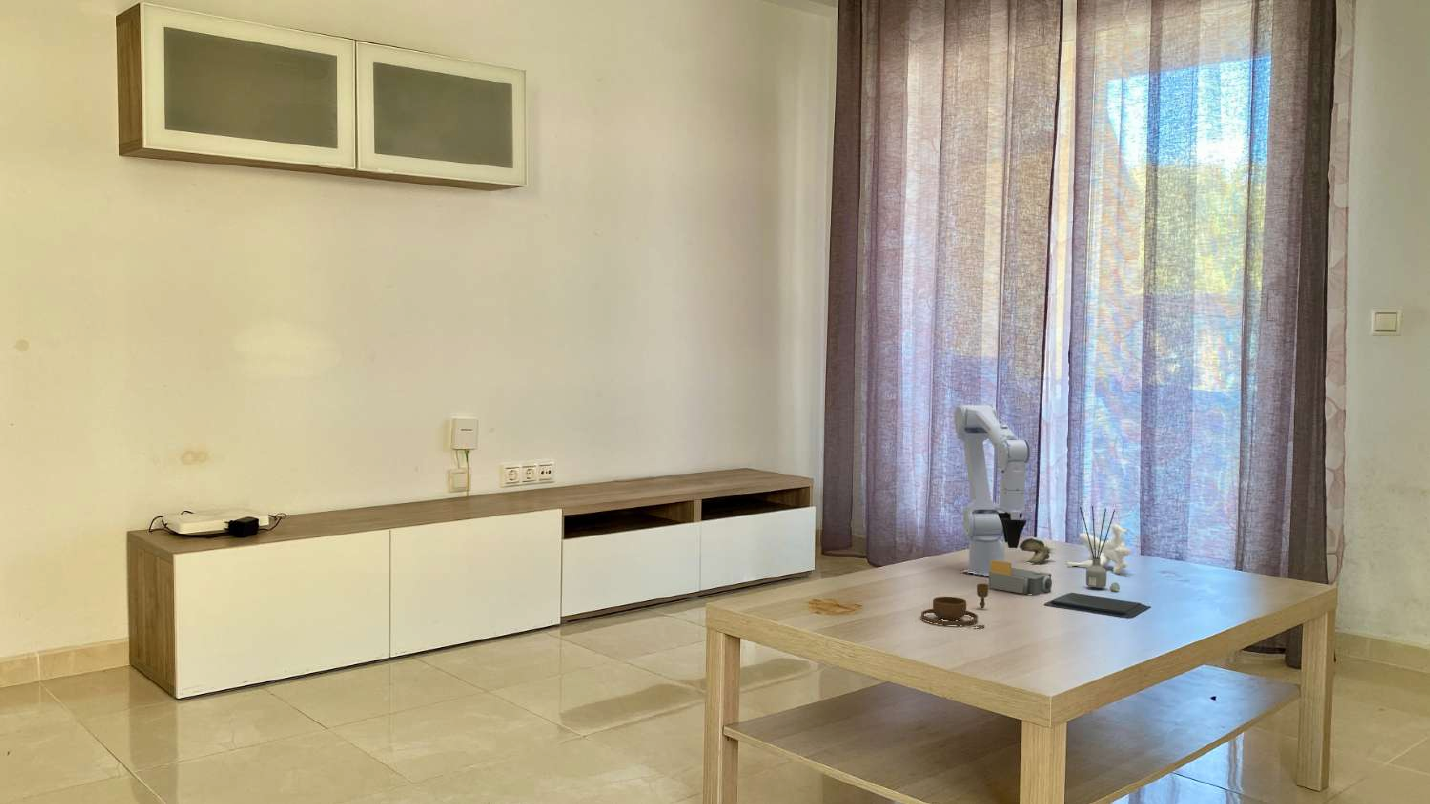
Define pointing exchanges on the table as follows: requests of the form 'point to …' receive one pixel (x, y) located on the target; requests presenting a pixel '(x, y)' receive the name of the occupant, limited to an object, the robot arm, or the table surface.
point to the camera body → (1033, 580)
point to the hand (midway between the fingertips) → (1011, 545)
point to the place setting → (955, 609)
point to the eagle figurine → (1037, 550)
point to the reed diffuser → (1098, 563)
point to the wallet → (1098, 605)
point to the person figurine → (1106, 550)
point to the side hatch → (1006, 578)
